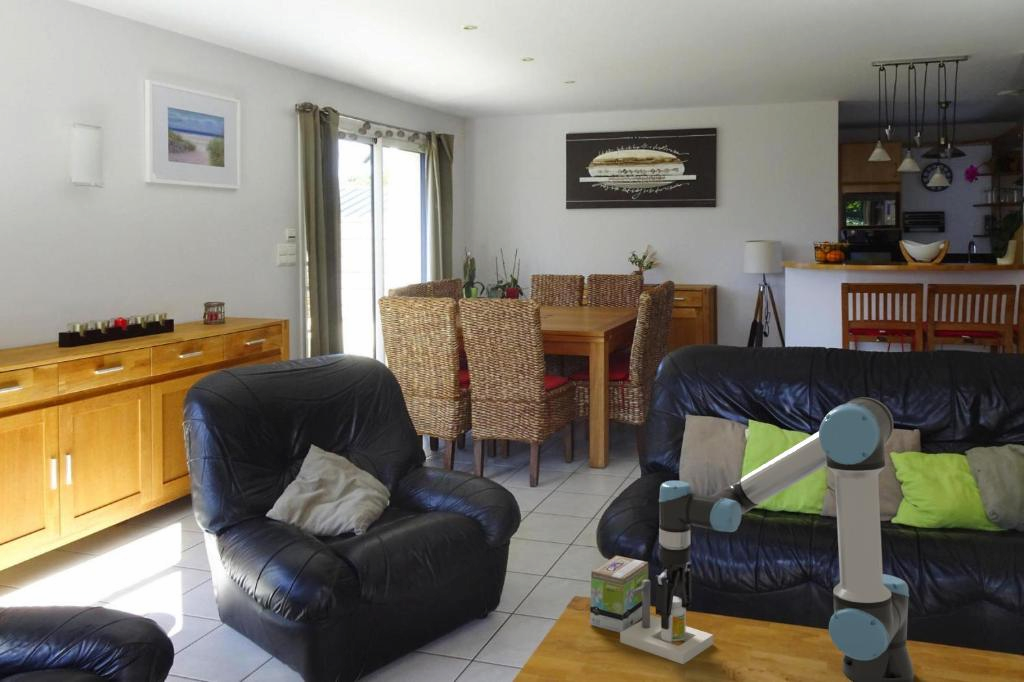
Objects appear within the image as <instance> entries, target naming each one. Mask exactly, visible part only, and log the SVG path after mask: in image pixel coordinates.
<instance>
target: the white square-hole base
mask: <svg viewBox="0 0 1024 682" xmlns="http://www.w3.org/2000/svg"><path fill="white" fill-rule="evenodd" d="M641 592H642V618H641V620H639V622H638V621H637V622H635V623H634V624H633V625H632V626H630V627H629V628H627V629H626V630H624V631H622V632H619V633H620V634H619V635H620V636H619V638H620V639H619V642H620V643H621V644H624V645H627V646H630V647H632V648H636V649H638V650H641V651H644V652H647V653H650V654H652V655H656V656H659V657H660V658H664V659H667V660H670V661H673V662H675V663H678V664H681V665H684V664H686V663H687V662H689V661H690V660H692V659H693V658H695V657H696V656H698V655H699V654H701V653H703V652H704V651H705V650H707V649H708V648H710V647H711V646H713V645H714V634H713V633H712V634H711V633H709V632H706V631H703V630H699V629H696V628H695V627H694V628H693V627H690V626H688V625H686V633H685V634H684V639H683V640H682V641H683V643H682V644H680V645H676V644H674V643H672V642H668V641H665V640H662V639H661V617H660V616H655V615H652V614H651V580H650V579H648V580H647V579H645V580H642V586H641V587H639V588H637V589H635V590H634V591H632V594H633V595H634V596H635V595H637V594H639V593H641Z"/></svg>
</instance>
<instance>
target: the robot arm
mask: <svg viewBox="0 0 1024 682" xmlns="http://www.w3.org/2000/svg"><path fill="white" fill-rule="evenodd" d="M893 431H894V418H893V415H892V413H891V411H890V410H889V409H888V407H887V406H886V405H885V404H884V403H883V402H881V401H879V400H878V399H875V398H873V397H867V396H866V397H864V396H863V397H857V398H854V399H850V400H849V401H847V402H846V403H844V404H840V405H838V406H836V407H834V408H833V409H831V410H830V411H829V412H828V413H827V414H826V415H825V417H824V418H823V420H822V422H821V423H820V425H819V430H818V431H817V432H814V433H813V434H812V435H810V436H808V437H806V438H804V439H803V440H802V441H800V442H799V443H797V444H795V445H793V446H792V447H790V448H788V449H787V450H785V451H784V452H782V453H780V454H778V455H777V456H775V457H774V458H772V459H770V460H769V461H767V462H765V463H764V464H761V466H759V467H757V468H756V469H754V470H752V471H750V472H749V473H747V474H746V475H743V476H742V477H741V478H739V479H737V480H736V481H733V482H731V483H730V484H728V485H727V486H725V487H724V488H722V489H721V490H719V491H718V490H717V492H715V493H713V494H712V495H704V494H698V493H695V492H694V493H693V492H692V491H693V490H692V487H691V484H690V483H689V482H686V481H683V480H668V481H665V482H662V483H661V485H660V487H659V498H658V503H659V504H658V505H659V506H658V507H659V512H658V513H659V515H658V516H659V517H658V518H659V522H658V523H659V524H658V526H659V529H658V532H659V533H658V534H659V535H658V542H659V545H658V559H659V561H661V563H662V569H661V574H660V575H658V574H656V575H655V577H654V581H655V586H656V587H655V611H654V612H655V614H656V615H658V616H660V618H661V639H662V641H665V642H668V643H673V641H672V634H673V616H672V615H671V609H672V602H673V596H676V597H679V598H681V599H682V606H681V607H683V608H684V611H685V625H684V634H685V633H686V626H687V625H686V623H687V622H686V620H687V619H686V618H687V609H688V608H690V607H691V602H692V598H693V597H692V595H693V594H692V573H693V572H692V571H693V563H690V560H691V546H690V545H691V526H694V527H698V528H699V527H700V528H704V529H709V530H710V529H711V530H715V531H717V532H725V533H726V532H727V533H733V532H736V531H737V530H738V528H739V526H740V524H741V521H742V515H743V514H745V513H747V512H749V511H751V510H752V509H754V508H755V507H757V506H759V505H760V504H761V503H764V502H766V501H767V500H769V499H771V498H773V497H774V496H776V495H778V494H780V493H781V492H783V491H784V490H786V489H788V488H790V487H792V486H793V485H795V484H797V483H799V482H801V481H802V480H805V479H806V478H808V477H810V476H811V475H813V474H815V473H817V472H818V471H820V470H821V469H824V468H825V467H827V469H828V470H830V471H831V472H832V473H833V475H834V485H835V487H834V488H835V503H836V522H837V523H836V524H837V525H836V526H837V527H836V528H837V543H838V544H837V545H838V562H839V565H838V566H839V567H838V568H839V583H838V584H837V585H835V586H834V588H833V594H832V595H833V614H832V615H831V616H830V619H829V624H828V633H829V637H830V639H831V641H832V643H833V644H834V646H835V647H836V648H837V649H838V650H839V651H841V653H842V654H844V655H843V657H842V663H841V664H842V666H841V667H842V668H841V669H842V672H843V674H844V675H845V676H846V677H847V678H849V679H850V680H851V681H853V682H914V675H915V671H914V667H913V664H912V659H911V656H910V653H909V650H908V647H907V637H908V634H907V633H908V616H909V615H908V612H909V597H910V593H909V586H908V584H907V581H905V580H903V579H901V578H899V577H897V576H894V575H889V574H885V573H883V554H882V553H883V552H882V532H881V529H882V528H881V515H880V513H881V511H880V493H879V491H880V490H879V489H880V488H879V474H880V473H881V472H882V471H883V470H884V469H885V468H886V457H885V456H886V454H885V453H886V449H885V444H886V443H887V442H888V441H889V440H890V438H891V436H892V434H893ZM674 594H675V595H674Z"/></svg>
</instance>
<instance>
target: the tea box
mask: <svg viewBox="0 0 1024 682" xmlns="http://www.w3.org/2000/svg"><path fill="white" fill-rule="evenodd" d="M590 579H591V580H590V608H589V609H590V612H589V614H590V615H589V625H590V626H594V627H597V628H600V629H605V630H609V631H613V632H616V633H620V632H622V631H624V630H626V629H627V628H629V627H631V626H633V625H634V624H636V623H638V621H640V620H641V619H642V592H641V593H639V594H637V595H635V596H634V595H633V594H632V591H634V590H635V589H637V588H639V587H641V586H642V580H645V579H647V580H649V562H648V561H644V560H639V559H635V558H630V557H625V556H621V555H615V556H613V557H612V558H611V559H609V560H608V561H606V562H604V563H603V564H601V565H599V566H597V567H596V568H594V569H593V570H592V571H591V575H590Z"/></svg>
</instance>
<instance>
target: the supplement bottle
mask: <svg viewBox="0 0 1024 682" xmlns="http://www.w3.org/2000/svg"><path fill="white" fill-rule="evenodd" d="M681 606H682V599H681V598H679V597H676V595H674V596H673V602H672V609H671V615H672V616H673V634H672V642H680V641H683V639H684V625H685V611H684V608H683V607H681Z"/></svg>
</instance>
